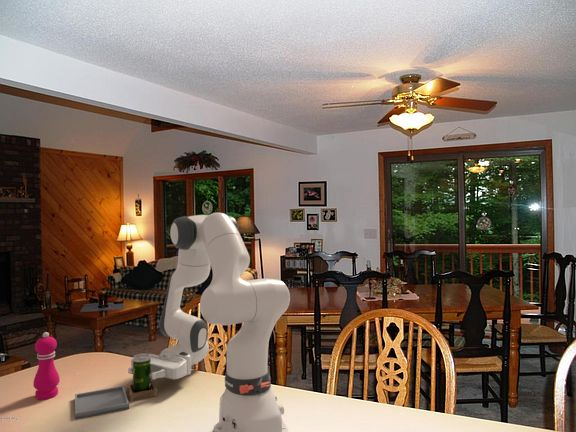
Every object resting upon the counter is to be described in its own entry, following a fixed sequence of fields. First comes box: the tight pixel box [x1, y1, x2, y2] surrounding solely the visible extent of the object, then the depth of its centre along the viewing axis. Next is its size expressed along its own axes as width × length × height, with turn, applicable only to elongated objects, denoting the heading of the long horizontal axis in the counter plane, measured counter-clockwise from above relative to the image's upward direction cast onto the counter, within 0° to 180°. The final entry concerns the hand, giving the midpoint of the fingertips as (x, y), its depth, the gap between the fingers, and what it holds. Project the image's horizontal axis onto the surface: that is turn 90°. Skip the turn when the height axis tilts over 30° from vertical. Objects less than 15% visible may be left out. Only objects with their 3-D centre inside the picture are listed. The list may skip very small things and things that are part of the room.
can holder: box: [126, 380, 158, 402], centre depth 140 cm, size 8×8×2 cm
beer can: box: [132, 352, 152, 393], centre depth 139 cm, size 5×5×12 cm
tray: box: [74, 385, 130, 420], centre depth 132 cm, size 14×14×2 cm
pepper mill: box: [33, 331, 60, 401], centre depth 138 cm, size 7×7×20 cm
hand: (140, 373), depth 139 cm, fingers open, 8 cm apart
